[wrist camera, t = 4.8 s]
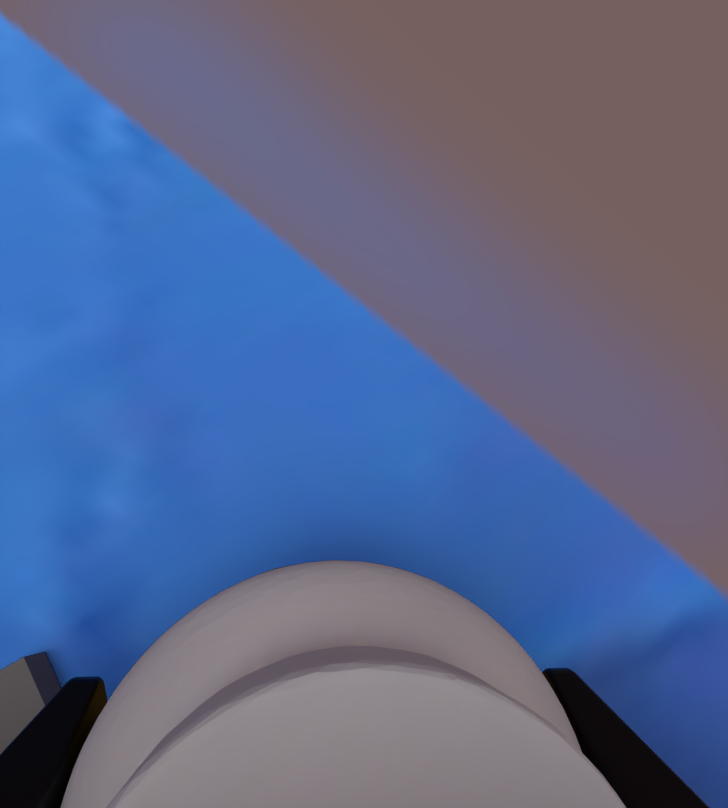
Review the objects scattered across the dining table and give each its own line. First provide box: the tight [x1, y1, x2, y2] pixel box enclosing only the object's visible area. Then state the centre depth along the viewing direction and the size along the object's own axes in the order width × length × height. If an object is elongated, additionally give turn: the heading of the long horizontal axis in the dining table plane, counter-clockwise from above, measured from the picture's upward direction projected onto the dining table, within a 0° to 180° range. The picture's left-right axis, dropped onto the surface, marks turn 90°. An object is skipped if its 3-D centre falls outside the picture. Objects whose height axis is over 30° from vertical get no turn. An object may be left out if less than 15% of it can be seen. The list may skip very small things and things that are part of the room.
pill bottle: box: [61, 560, 626, 808], centre depth 9 cm, size 6×6×12 cm
